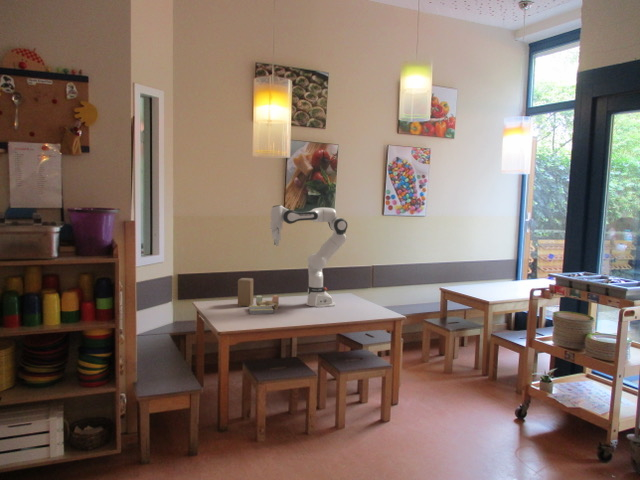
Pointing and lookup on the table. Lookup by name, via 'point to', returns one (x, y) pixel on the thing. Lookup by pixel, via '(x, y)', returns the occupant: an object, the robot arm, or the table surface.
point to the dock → (260, 309)
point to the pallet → (268, 303)
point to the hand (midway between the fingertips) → (276, 245)
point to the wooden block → (245, 292)
